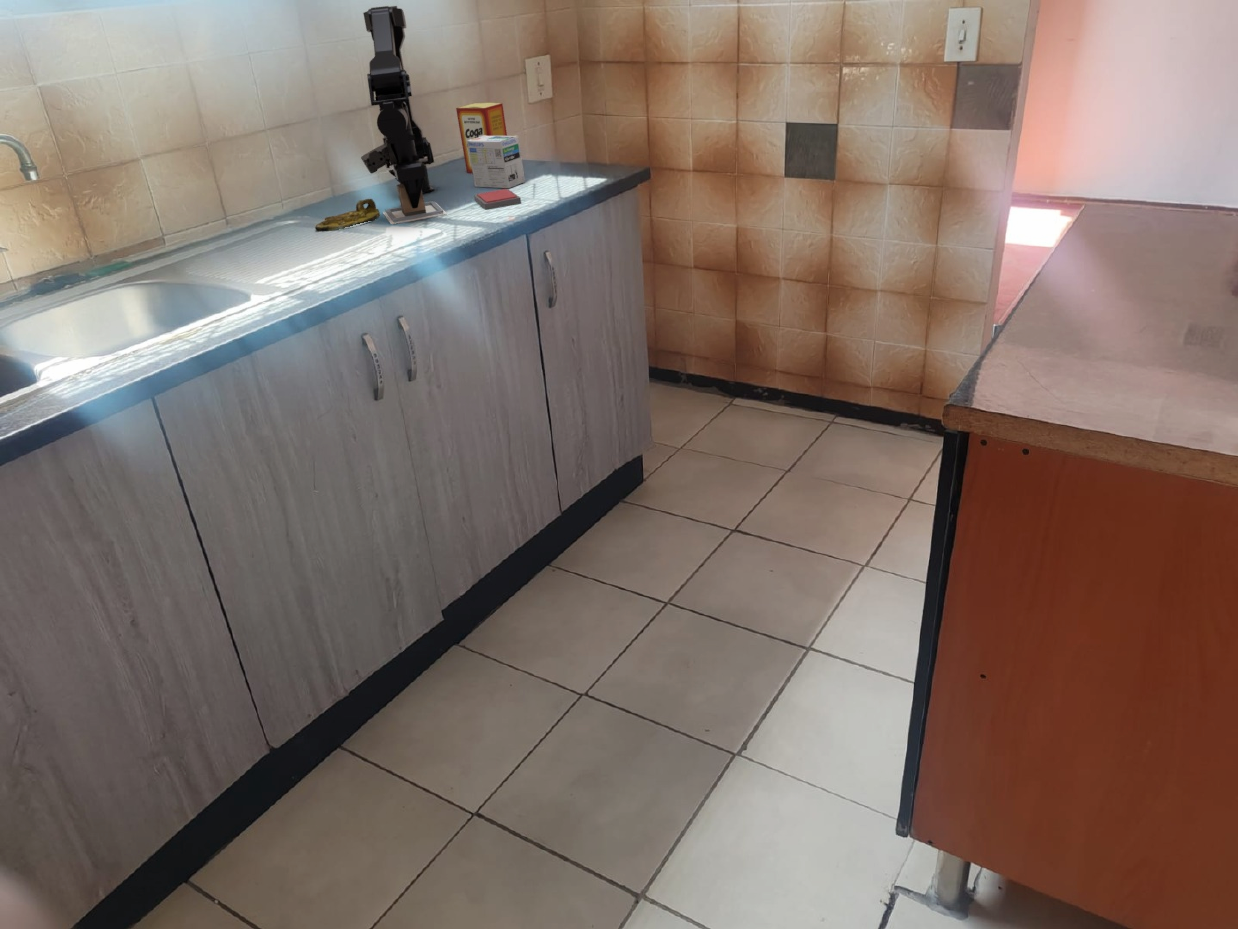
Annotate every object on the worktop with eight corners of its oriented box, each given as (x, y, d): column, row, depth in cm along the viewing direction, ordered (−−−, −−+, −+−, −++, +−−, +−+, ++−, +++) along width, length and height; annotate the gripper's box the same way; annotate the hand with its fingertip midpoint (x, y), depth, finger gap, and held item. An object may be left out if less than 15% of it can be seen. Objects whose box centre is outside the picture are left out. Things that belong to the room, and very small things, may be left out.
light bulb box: (526, 182, 219) (519, 134, 214) (508, 189, 215) (501, 140, 209) (491, 180, 225) (484, 134, 220) (473, 187, 220) (465, 140, 215)
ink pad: (474, 200, 207) (473, 193, 207) (509, 194, 210) (508, 187, 209) (485, 209, 199) (484, 202, 198) (521, 203, 201) (520, 196, 200)
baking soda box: (467, 172, 235) (455, 106, 228) (484, 167, 240) (473, 101, 232) (495, 174, 230) (484, 106, 223) (511, 168, 235) (502, 101, 227)
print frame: (382, 213, 205) (382, 209, 205) (436, 203, 208) (435, 199, 208) (391, 224, 195) (390, 220, 195) (447, 214, 198) (446, 210, 198)
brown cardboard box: (402, 212, 203) (396, 184, 200) (422, 208, 204) (417, 181, 201) (405, 216, 199) (399, 188, 196) (426, 212, 201) (420, 184, 198)
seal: (329, 241, 194) (390, 222, 202) (324, 219, 191) (387, 201, 199) (307, 230, 199) (368, 212, 208) (302, 208, 197) (364, 191, 205)
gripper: (353, 130, 199) (369, 203, 207) (365, 142, 183) (382, 221, 191) (404, 122, 202) (419, 194, 210) (420, 134, 186) (435, 211, 194)
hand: (412, 205), depth 201 cm, fingers open, 5 cm apart
